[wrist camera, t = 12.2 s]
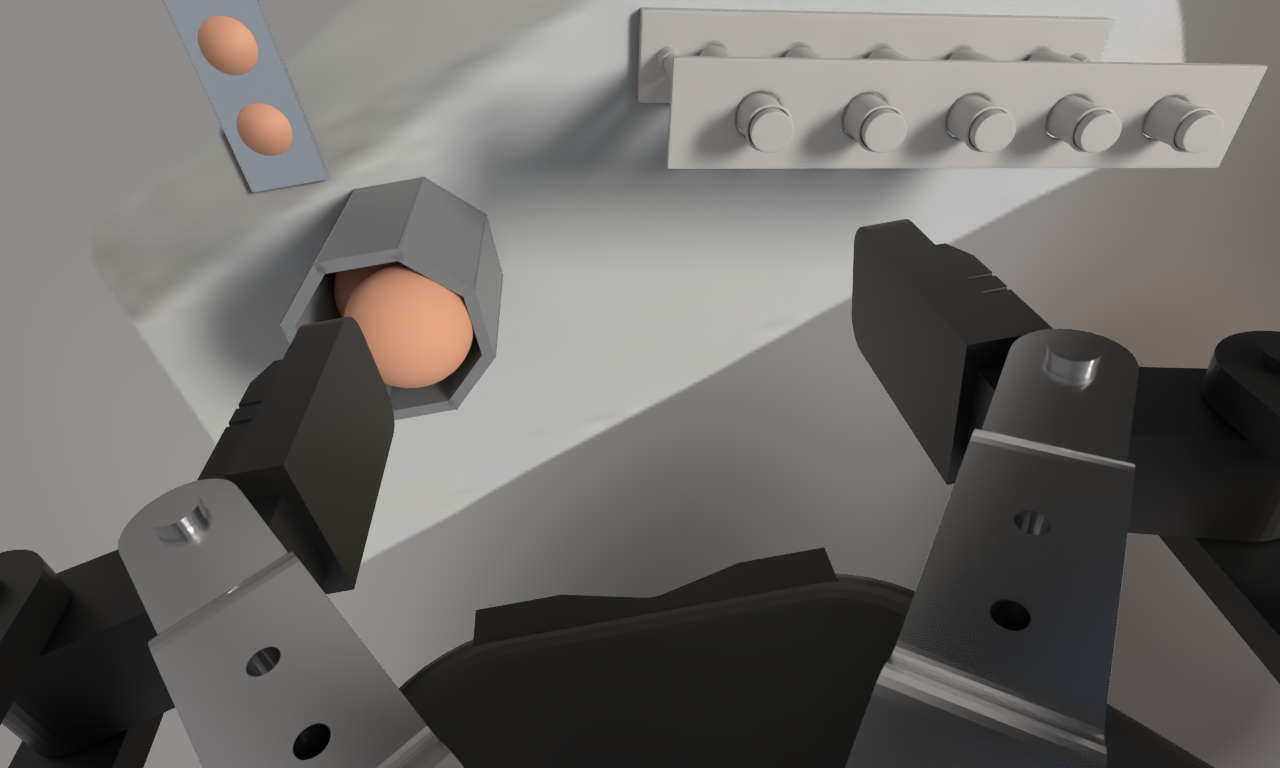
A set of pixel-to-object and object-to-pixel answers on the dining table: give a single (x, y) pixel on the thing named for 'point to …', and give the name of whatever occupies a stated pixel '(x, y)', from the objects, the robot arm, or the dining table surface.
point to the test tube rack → (926, 93)
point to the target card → (249, 90)
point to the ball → (411, 326)
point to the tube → (431, 245)
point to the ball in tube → (352, 283)
